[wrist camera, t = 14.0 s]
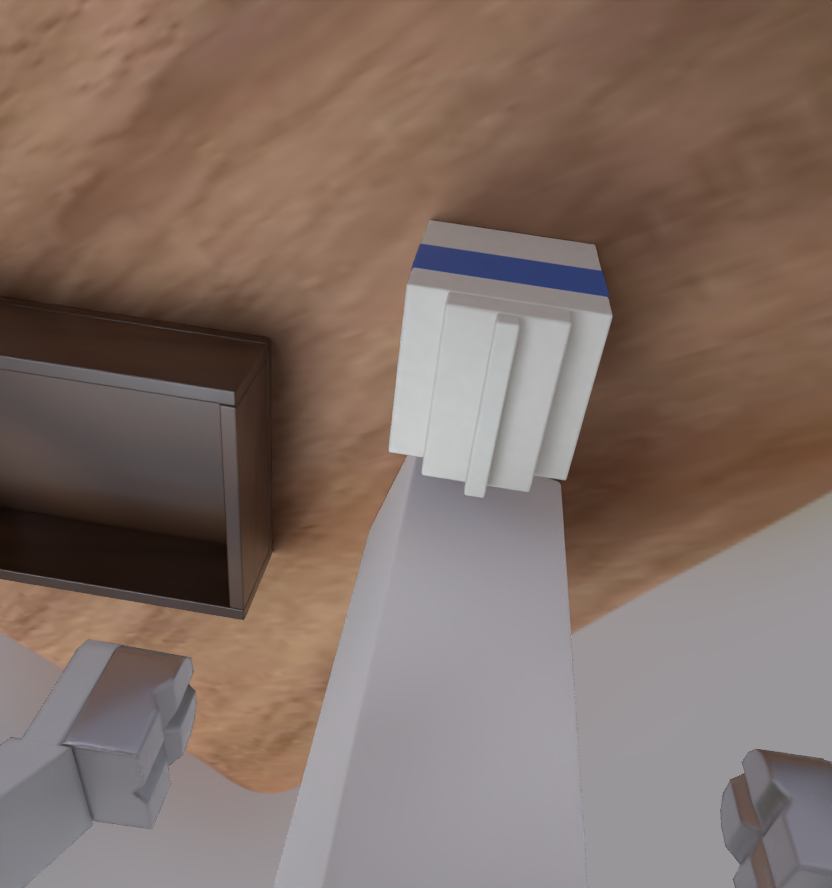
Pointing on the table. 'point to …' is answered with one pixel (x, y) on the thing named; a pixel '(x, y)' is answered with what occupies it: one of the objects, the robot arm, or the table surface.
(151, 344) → the box
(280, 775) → the table surface
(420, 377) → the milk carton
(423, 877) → the milk
